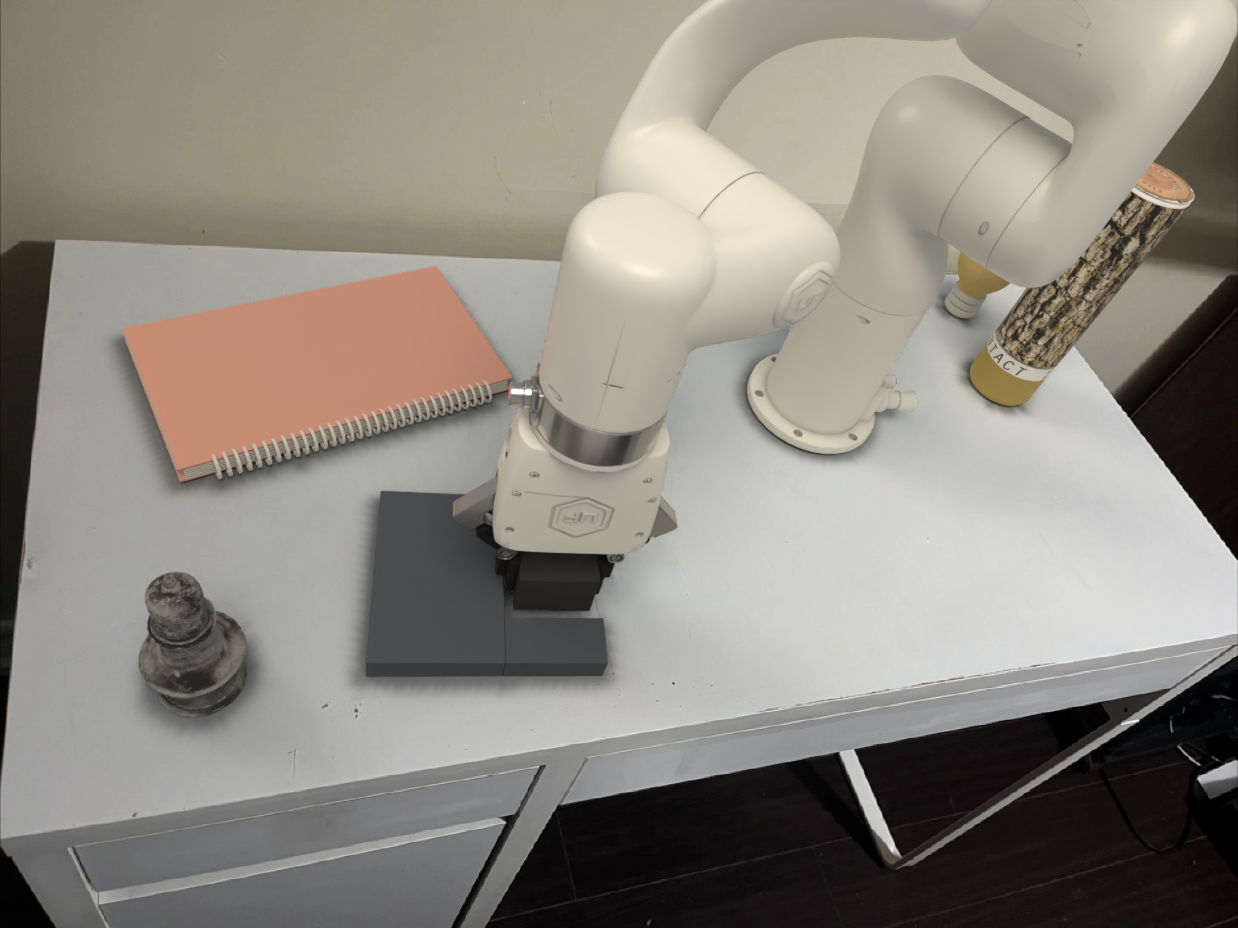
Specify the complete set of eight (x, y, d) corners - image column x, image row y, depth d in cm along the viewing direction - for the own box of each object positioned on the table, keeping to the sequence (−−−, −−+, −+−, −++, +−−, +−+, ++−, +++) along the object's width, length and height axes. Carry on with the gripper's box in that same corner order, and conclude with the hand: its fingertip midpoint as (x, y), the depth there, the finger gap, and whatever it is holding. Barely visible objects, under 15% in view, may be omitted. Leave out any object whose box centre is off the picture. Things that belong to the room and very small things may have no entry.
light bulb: (970, 294, 102) (1017, 223, 94) (992, 331, 98) (1043, 260, 90) (923, 290, 100) (967, 218, 93) (943, 327, 96) (990, 255, 89)
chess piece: (209, 619, 57) (178, 513, 48) (272, 672, 56) (252, 574, 47) (128, 682, 53) (78, 580, 44) (194, 741, 52) (155, 648, 43)
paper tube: (1003, 361, 95) (1158, 157, 76) (1039, 406, 91) (1211, 203, 72) (954, 365, 92) (1101, 156, 73) (989, 412, 88) (1153, 203, 70)
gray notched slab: (586, 514, 69) (591, 499, 68) (602, 676, 60) (608, 663, 59) (380, 506, 66) (380, 490, 64) (366, 677, 57) (365, 663, 55)
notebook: (184, 495, 63) (180, 478, 61) (125, 343, 70) (120, 324, 69) (516, 399, 76) (518, 383, 74) (435, 279, 83) (436, 263, 82)
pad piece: (583, 547, 65) (593, 516, 62) (589, 611, 62) (600, 582, 59) (510, 545, 64) (517, 513, 61) (512, 610, 60) (520, 580, 57)
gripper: (444, 447, 45) (427, 620, 58) (753, 465, 49) (670, 623, 62) (447, 347, 49) (431, 529, 63) (728, 371, 53) (657, 537, 67)
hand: (550, 574), depth 62 cm, fingers closed on pad piece, 5 cm apart
